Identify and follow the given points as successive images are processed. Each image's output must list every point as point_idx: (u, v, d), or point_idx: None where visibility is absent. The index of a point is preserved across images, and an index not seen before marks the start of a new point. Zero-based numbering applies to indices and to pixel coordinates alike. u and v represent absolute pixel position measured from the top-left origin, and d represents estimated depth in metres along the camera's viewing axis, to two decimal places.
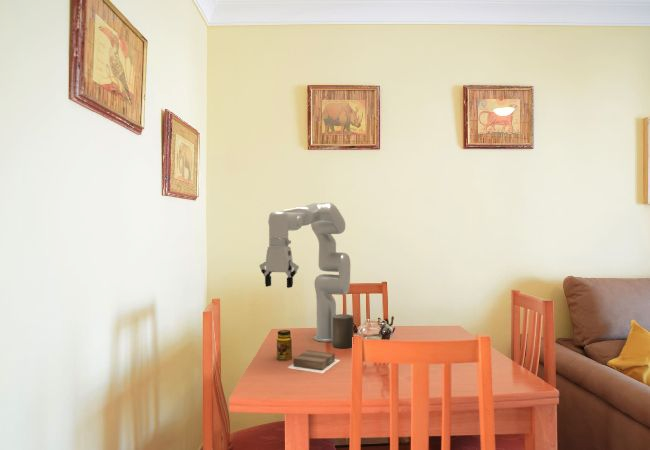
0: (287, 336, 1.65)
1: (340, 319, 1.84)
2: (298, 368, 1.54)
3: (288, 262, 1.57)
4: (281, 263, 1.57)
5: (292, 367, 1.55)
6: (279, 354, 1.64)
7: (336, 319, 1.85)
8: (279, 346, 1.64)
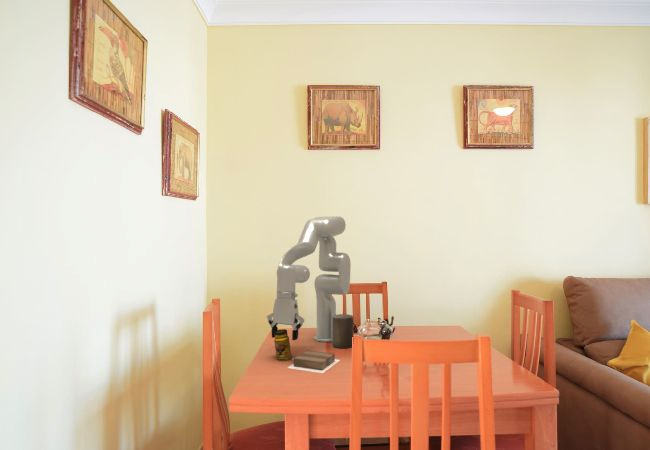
0: (284, 335, 1.64)
1: (340, 319, 1.84)
2: (298, 368, 1.54)
3: (294, 315, 1.63)
4: (287, 316, 1.63)
5: (292, 367, 1.55)
6: (278, 354, 1.64)
7: (336, 319, 1.85)
8: (277, 346, 1.64)
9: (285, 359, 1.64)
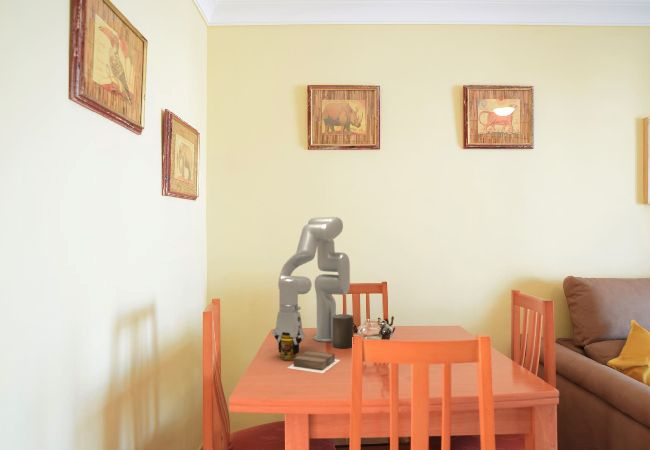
0: None
1: (340, 319, 1.84)
2: (298, 368, 1.54)
3: (298, 328, 1.64)
4: (291, 329, 1.63)
5: (292, 367, 1.55)
6: (283, 354, 1.64)
7: (336, 319, 1.85)
8: (283, 346, 1.64)
9: (290, 360, 1.63)
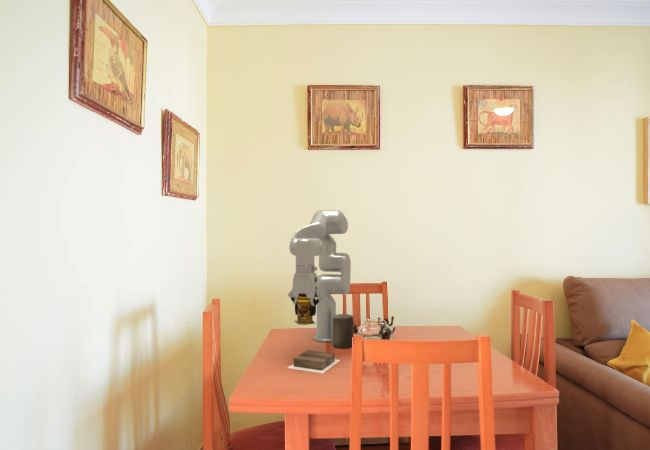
0: None
1: (340, 319, 1.84)
2: (298, 368, 1.54)
3: (315, 289, 1.59)
4: (308, 290, 1.59)
5: (292, 367, 1.55)
6: (300, 316, 1.60)
7: (336, 319, 1.85)
8: (300, 308, 1.60)
9: (306, 322, 1.59)
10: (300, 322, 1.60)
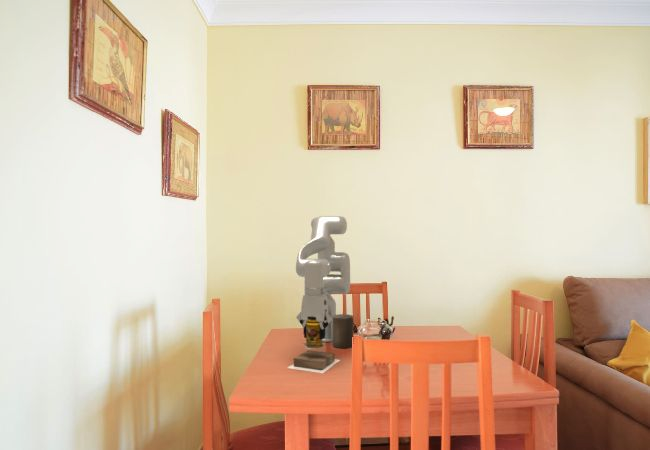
0: None
1: (340, 319, 1.84)
2: (298, 368, 1.54)
3: (324, 312, 1.57)
4: (317, 313, 1.57)
5: (292, 367, 1.55)
6: (309, 339, 1.57)
7: (336, 319, 1.85)
8: (309, 331, 1.57)
9: (316, 345, 1.57)
10: (309, 346, 1.57)
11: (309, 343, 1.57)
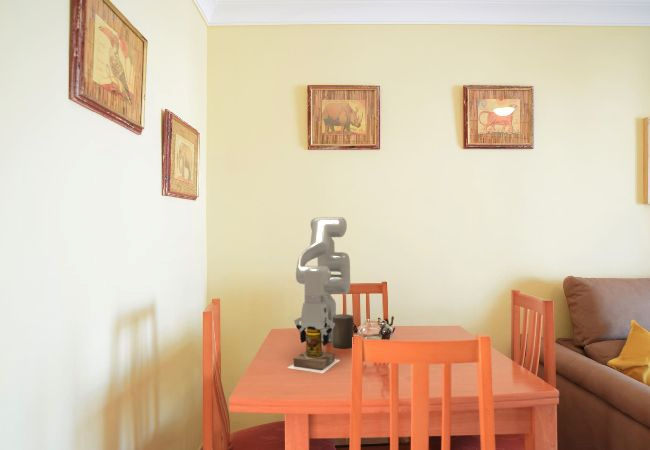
0: (317, 330, 1.58)
1: (340, 319, 1.84)
2: (298, 368, 1.54)
3: (324, 319, 1.57)
4: (317, 320, 1.57)
5: (292, 367, 1.55)
6: (309, 349, 1.57)
7: (336, 319, 1.85)
8: (309, 341, 1.57)
9: (316, 355, 1.57)
10: (309, 355, 1.57)
11: (309, 353, 1.57)
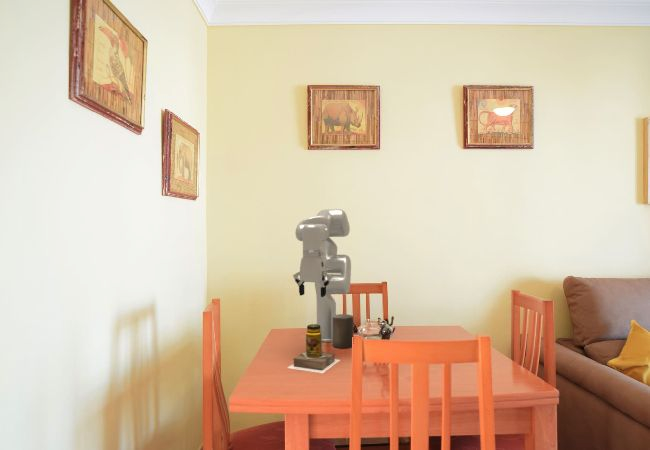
0: (317, 330, 1.58)
1: (340, 319, 1.84)
2: (298, 368, 1.54)
3: (322, 273, 1.66)
4: (315, 274, 1.66)
5: (292, 367, 1.55)
6: (309, 349, 1.57)
7: (336, 319, 1.85)
8: (309, 341, 1.57)
9: (316, 355, 1.57)
10: (309, 355, 1.57)
11: (309, 353, 1.57)
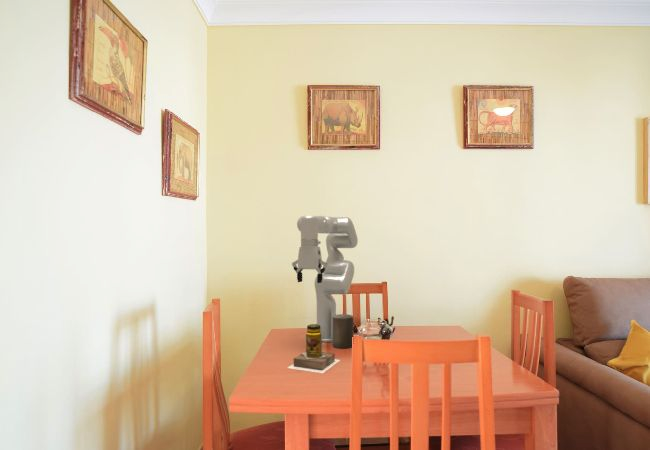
0: (317, 330, 1.58)
1: (340, 319, 1.84)
2: (298, 368, 1.54)
3: (318, 260, 1.77)
4: (312, 261, 1.77)
5: (292, 367, 1.55)
6: (309, 349, 1.57)
7: (336, 319, 1.85)
8: (309, 341, 1.57)
9: (316, 355, 1.57)
10: (309, 355, 1.57)
11: (309, 353, 1.57)
